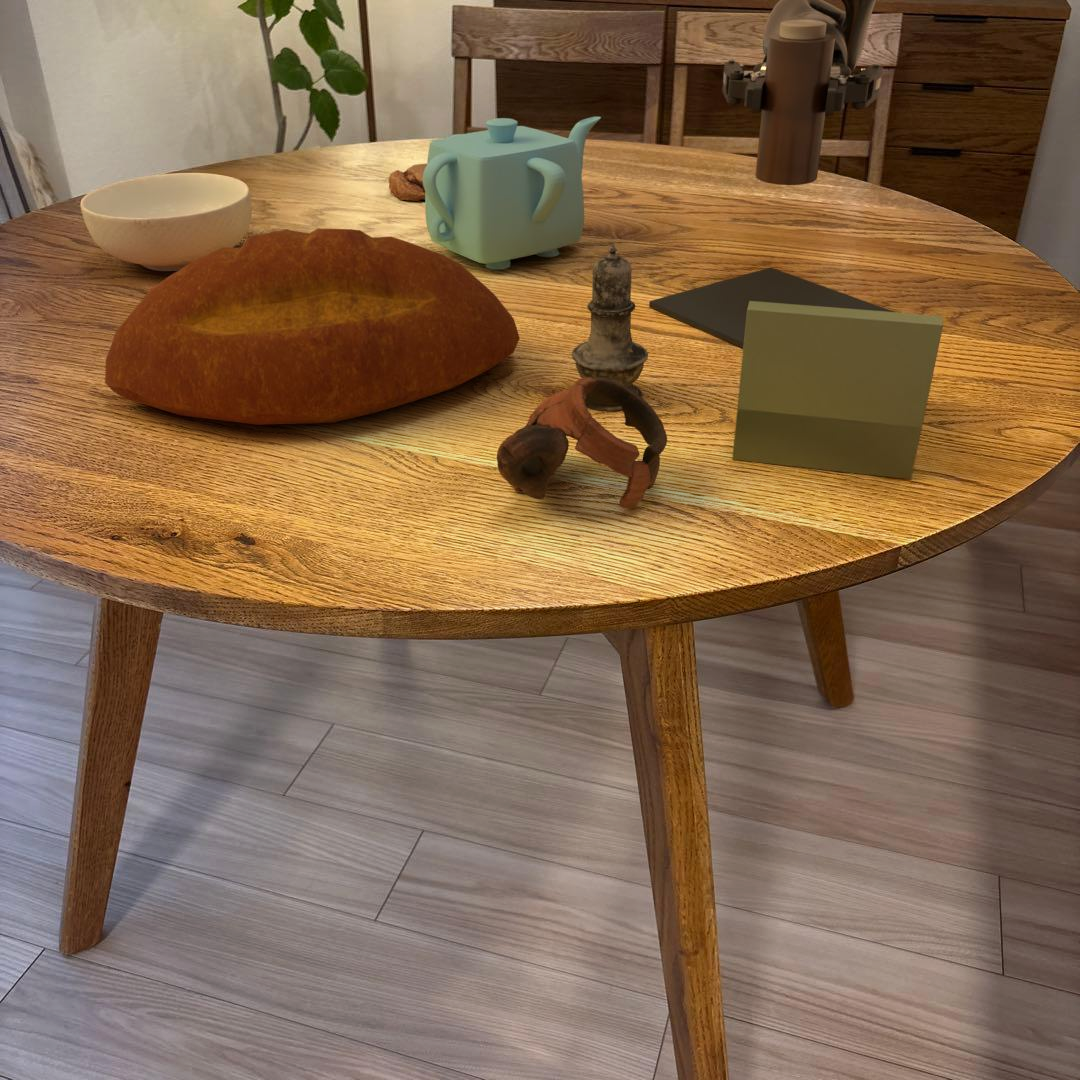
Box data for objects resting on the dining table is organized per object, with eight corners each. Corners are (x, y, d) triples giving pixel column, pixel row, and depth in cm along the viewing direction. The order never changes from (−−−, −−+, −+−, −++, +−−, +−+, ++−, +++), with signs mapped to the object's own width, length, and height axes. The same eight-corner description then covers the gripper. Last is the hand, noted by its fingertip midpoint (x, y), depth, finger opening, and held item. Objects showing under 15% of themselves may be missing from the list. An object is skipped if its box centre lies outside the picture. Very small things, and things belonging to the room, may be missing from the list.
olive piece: (748, 388, 82) (763, 251, 76) (906, 404, 80) (934, 263, 74) (732, 459, 73) (747, 309, 67) (911, 479, 70) (943, 325, 64)
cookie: (468, 202, 128) (467, 177, 127) (383, 203, 129) (380, 178, 127) (474, 182, 137) (473, 158, 135) (394, 182, 137) (392, 158, 135)
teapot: (560, 283, 104) (561, 142, 96) (406, 271, 107) (395, 134, 100) (599, 230, 118) (602, 104, 111) (462, 221, 122) (456, 98, 115)
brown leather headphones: (559, 442, 76) (618, 358, 71) (638, 537, 73) (706, 456, 68) (440, 464, 67) (498, 369, 63) (525, 573, 64) (593, 482, 59)
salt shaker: (558, 389, 83) (557, 239, 76) (621, 374, 85) (626, 227, 78) (594, 418, 78) (597, 262, 72) (660, 402, 81) (669, 249, 74)
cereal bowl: (61, 278, 107) (42, 209, 103) (157, 231, 120) (143, 168, 116) (205, 293, 103) (191, 221, 99) (288, 242, 116) (278, 177, 112)
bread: (543, 420, 78) (541, 258, 72) (89, 462, 74) (41, 293, 67) (502, 319, 96) (498, 181, 89) (133, 348, 91) (98, 204, 84)
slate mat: (770, 272, 105) (770, 267, 105) (898, 319, 94) (899, 313, 94) (648, 307, 98) (649, 301, 97) (772, 362, 87) (773, 355, 86)
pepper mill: (785, 166, 92) (802, 16, 86) (829, 178, 89) (851, 23, 82) (742, 175, 90) (756, 22, 83) (786, 188, 86) (805, 29, 80)
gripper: (731, 19, 97) (707, 48, 83) (891, 22, 94) (894, 53, 80) (724, 105, 101) (701, 146, 87) (878, 110, 98) (878, 154, 84)
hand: (793, 101), depth 84 cm, fingers closed on pepper mill, 5 cm apart
